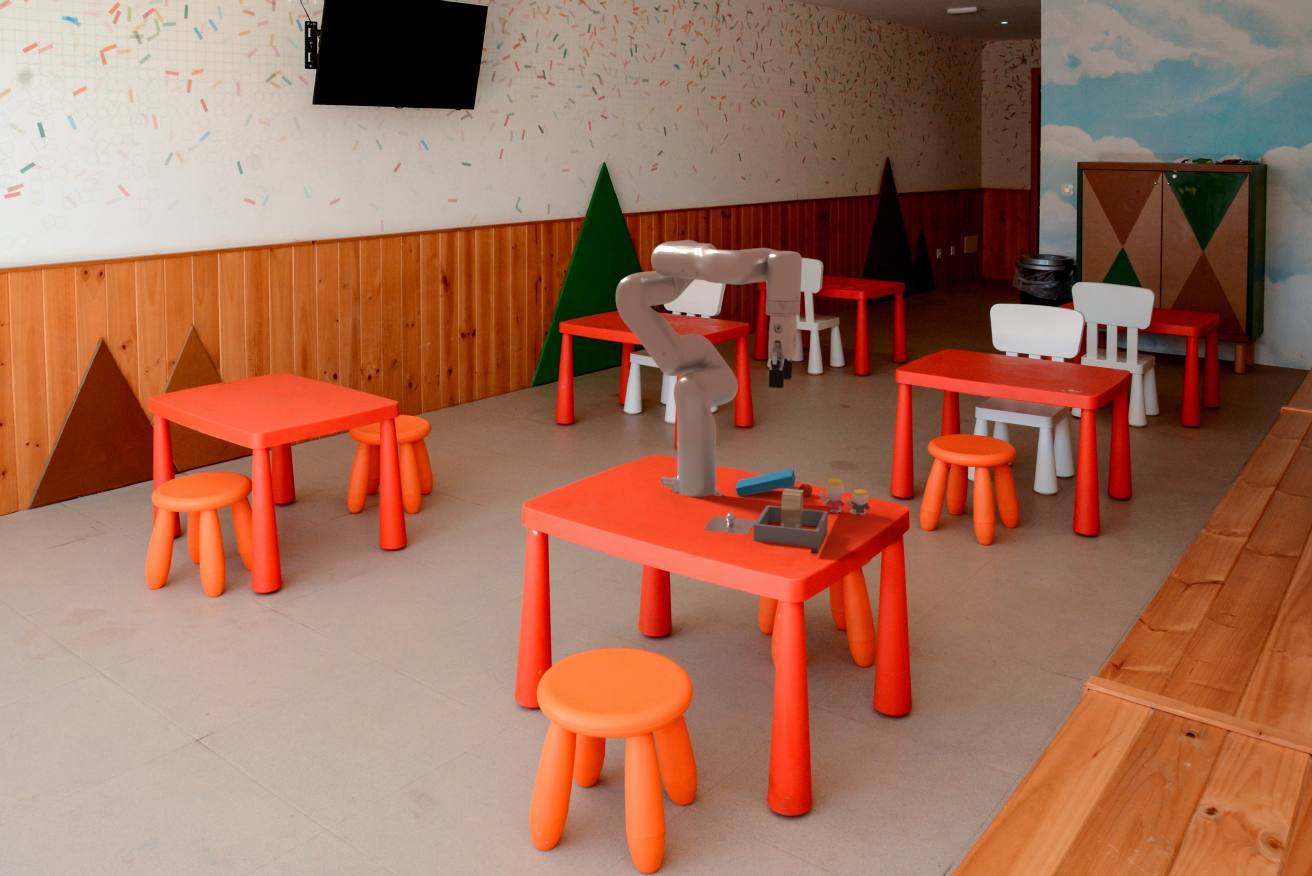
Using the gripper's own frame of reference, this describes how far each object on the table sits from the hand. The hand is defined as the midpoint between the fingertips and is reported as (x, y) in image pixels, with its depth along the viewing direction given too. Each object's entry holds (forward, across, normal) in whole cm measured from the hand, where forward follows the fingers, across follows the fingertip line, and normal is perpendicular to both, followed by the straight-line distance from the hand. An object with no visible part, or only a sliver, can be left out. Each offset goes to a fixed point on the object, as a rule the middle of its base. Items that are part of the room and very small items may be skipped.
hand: (780, 383), depth 240 cm
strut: (+31, -13, -6) cm, 34 cm away
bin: (+32, -13, -6) cm, 35 cm away
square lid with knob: (+32, -12, +8) cm, 35 cm away
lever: (+33, +18, +4) cm, 38 cm away
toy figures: (+33, +9, -15) cm, 37 cm away
